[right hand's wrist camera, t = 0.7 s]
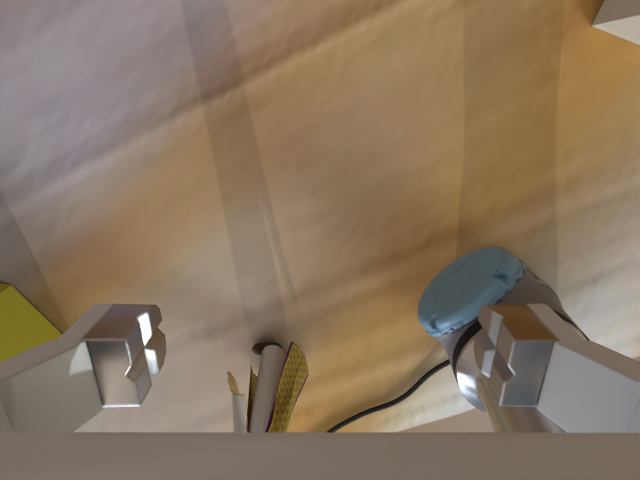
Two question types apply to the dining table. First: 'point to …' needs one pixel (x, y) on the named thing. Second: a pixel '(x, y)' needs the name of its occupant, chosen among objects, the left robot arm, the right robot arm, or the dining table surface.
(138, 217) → the dining table surface
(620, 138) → the dining table surface
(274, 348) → the figurine
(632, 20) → the box
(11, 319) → the crown
